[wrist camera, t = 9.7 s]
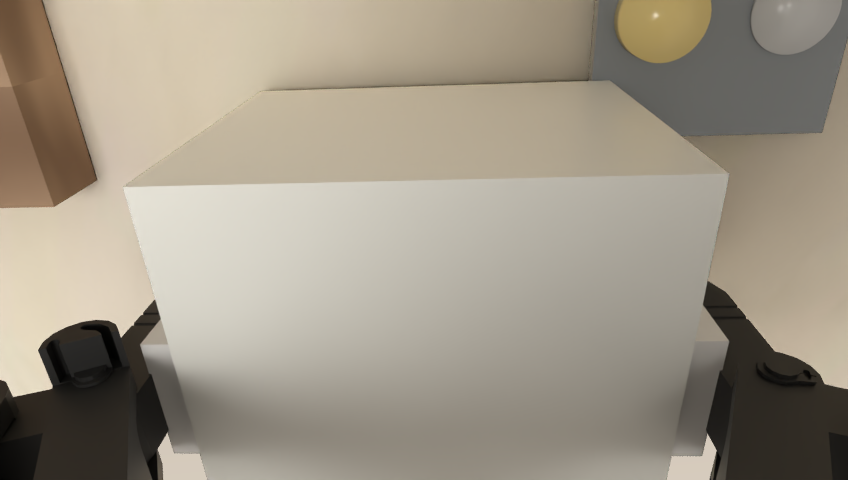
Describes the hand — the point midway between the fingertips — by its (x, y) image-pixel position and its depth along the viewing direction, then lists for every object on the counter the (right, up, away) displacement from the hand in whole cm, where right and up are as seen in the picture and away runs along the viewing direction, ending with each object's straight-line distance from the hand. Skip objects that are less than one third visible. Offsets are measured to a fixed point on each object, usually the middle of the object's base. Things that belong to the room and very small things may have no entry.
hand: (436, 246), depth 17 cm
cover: (0, 0, 0) cm, 0 cm away
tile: (+7, +6, -3) cm, 9 cm away
